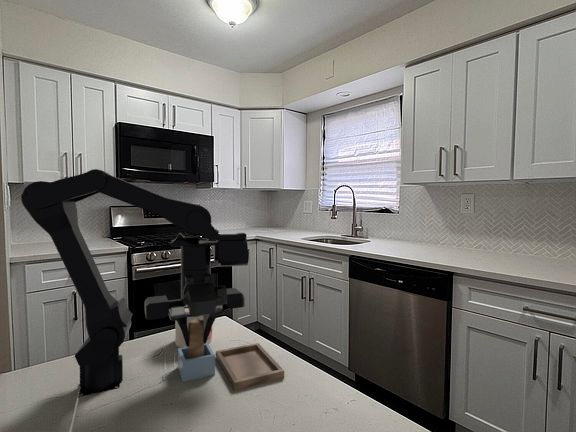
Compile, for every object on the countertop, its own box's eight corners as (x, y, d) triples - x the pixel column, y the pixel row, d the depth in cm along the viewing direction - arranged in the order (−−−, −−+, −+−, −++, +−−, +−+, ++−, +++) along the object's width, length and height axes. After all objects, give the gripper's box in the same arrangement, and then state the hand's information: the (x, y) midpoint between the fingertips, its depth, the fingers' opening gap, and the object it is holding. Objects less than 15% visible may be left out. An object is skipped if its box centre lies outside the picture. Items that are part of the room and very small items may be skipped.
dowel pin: (189, 375, 65) (189, 325, 64) (187, 368, 67) (187, 320, 67) (205, 372, 66) (205, 323, 65) (201, 365, 69) (201, 318, 68)
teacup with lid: (207, 352, 76) (207, 302, 76) (168, 351, 76) (168, 301, 76) (219, 331, 88) (219, 288, 88) (185, 331, 88) (185, 288, 88)
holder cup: (182, 385, 62) (182, 361, 62) (177, 369, 68) (177, 348, 68) (215, 377, 65) (215, 355, 65) (207, 363, 71) (207, 343, 71)
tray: (234, 393, 60) (234, 382, 60) (215, 360, 72) (215, 351, 72) (284, 380, 64) (284, 370, 64) (258, 351, 77) (258, 342, 77)
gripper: (147, 281, 54) (148, 373, 55) (254, 271, 63) (253, 352, 63) (144, 268, 64) (144, 347, 65) (236, 261, 73) (235, 331, 73)
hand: (195, 344), depth 66 cm, fingers closed on dowel pin, 3 cm apart
